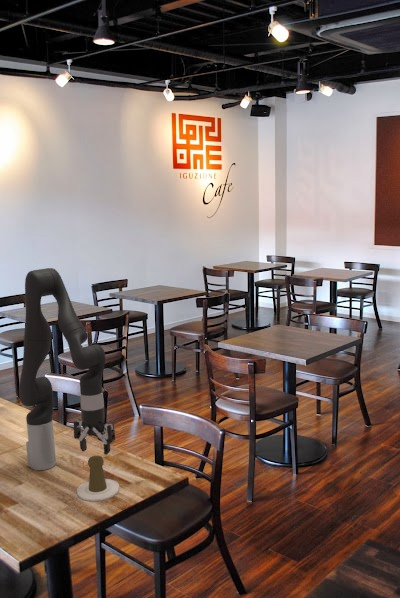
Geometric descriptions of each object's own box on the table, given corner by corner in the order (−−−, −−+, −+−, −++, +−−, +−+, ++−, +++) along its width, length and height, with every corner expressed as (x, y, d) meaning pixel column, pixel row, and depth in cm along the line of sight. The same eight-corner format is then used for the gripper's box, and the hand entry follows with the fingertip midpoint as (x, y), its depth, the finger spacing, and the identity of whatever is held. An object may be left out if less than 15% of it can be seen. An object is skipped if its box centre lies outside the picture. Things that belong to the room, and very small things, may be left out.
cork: (103, 492, 202) (100, 461, 201) (85, 491, 204) (83, 460, 202) (109, 484, 208) (107, 453, 206) (92, 483, 209) (90, 452, 208)
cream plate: (69, 498, 202) (68, 495, 202) (90, 479, 215) (90, 476, 215) (106, 504, 197) (106, 501, 197) (126, 484, 210) (126, 481, 210)
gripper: (67, 407, 200) (70, 454, 203) (105, 411, 195) (109, 459, 198) (79, 399, 207) (82, 445, 210) (117, 403, 202) (119, 450, 205)
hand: (95, 452), depth 204 cm, fingers open, 8 cm apart
